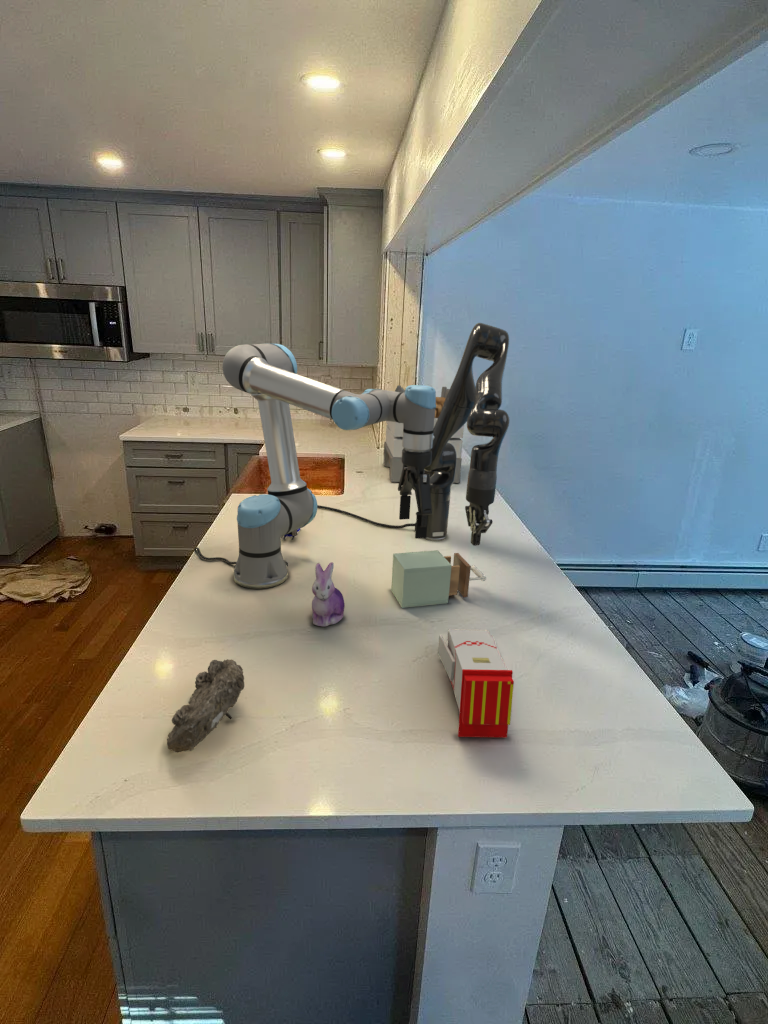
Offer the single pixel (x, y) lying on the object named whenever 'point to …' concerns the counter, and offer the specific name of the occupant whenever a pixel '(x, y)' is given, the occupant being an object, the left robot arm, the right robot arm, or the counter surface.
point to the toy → (478, 682)
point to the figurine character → (291, 534)
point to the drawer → (462, 575)
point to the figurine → (326, 598)
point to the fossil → (206, 705)
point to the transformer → (395, 447)
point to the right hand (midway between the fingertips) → (475, 544)
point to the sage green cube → (420, 578)
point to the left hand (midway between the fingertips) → (412, 528)
